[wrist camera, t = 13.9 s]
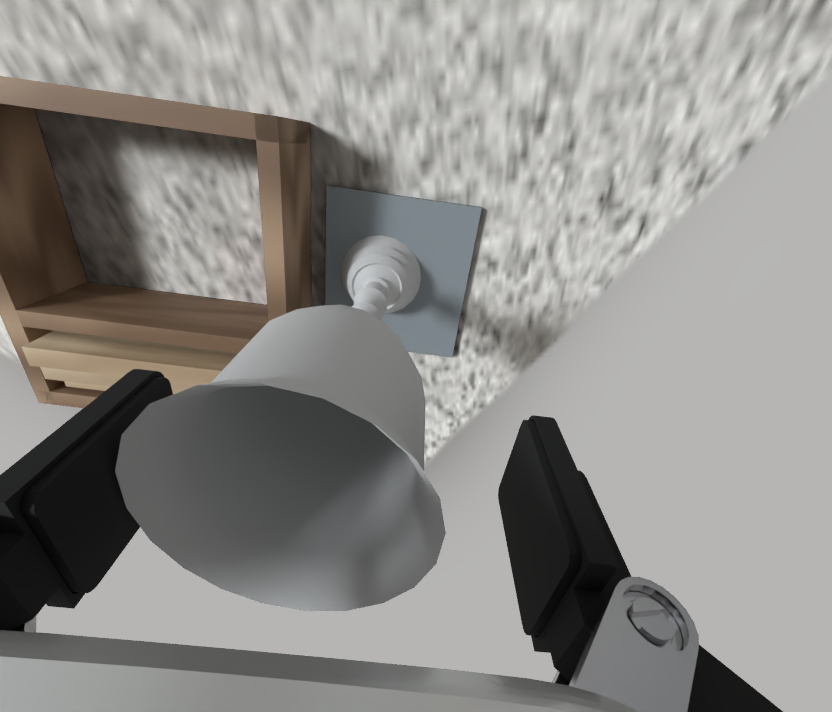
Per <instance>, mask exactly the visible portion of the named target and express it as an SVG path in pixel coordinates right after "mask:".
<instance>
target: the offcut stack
mask: <svg viewBox="0 0 832 712" xmlns="http://www.w3.org/2000/svg"><path fill="white" fill-rule="evenodd" d="M22 349H23V352H24V354H25V356H26V359H27V361H28V363H29V366H37V367H40V368H41V370H42V373H43V375H44V378H45V379H51V380H59V381H64V382H65V385H66V386H67V387H76V388H84V389H92V390H101V391H106V390H107V389H108V388H110V387H111V386H112V385H113V384H115V383H116V382H117V381H118V380H119V379H121V378H122V377H123V376H124V375H126V374H127V373H128V372H129V371H131V370H133V369H143V370H151V371H159V372H161V373H162V374H163V375H164V378H167V379H168V380H169V381H170V384H171V388H172V392H173V394H176V393H178V392H181V391H183V390H186V389H188V388H191V387H194V386H196V385H200V384H206V383H211V382H212V381H213V380H214V379H215V378H216V377H217V376H218V375H219V373H220V372H221V371H222V370H223V369H224V368H225V367H226V366H227V365H228V364H229V363H230V362H231V361H232V360H233V359H234V357H235V356H236V355H237V354H238V353H231V352H223V351H215V350H207V349H199V348H191V347H183V346H175V345H167V344H159V343H151V342H143V341H135V340H127V339H119V338H111V337H103V336H95V335H87V334H79V333H71V332H62V331H52V332H50V333H48V334H46V335H44V336H42V337H40V338H38V339H36V340H34V341H32V342H30V343H28V344H26V345H24V346H22Z"/></svg>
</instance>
